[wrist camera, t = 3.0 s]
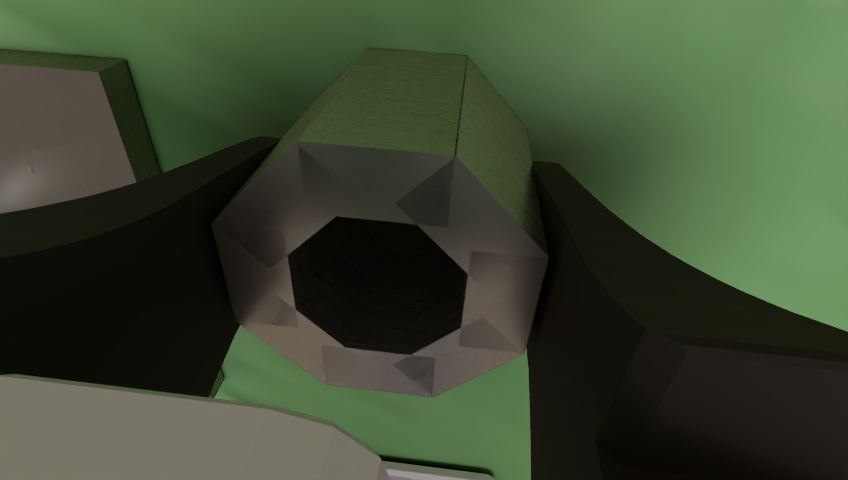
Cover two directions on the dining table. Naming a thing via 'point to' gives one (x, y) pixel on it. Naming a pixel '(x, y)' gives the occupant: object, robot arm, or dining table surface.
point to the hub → (391, 230)
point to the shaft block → (69, 131)
